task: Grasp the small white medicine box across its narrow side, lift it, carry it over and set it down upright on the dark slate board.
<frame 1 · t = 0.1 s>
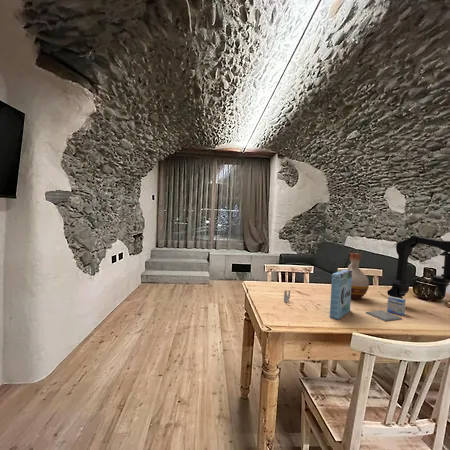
hand: (449, 295, 135), 15 cm above the table, fingers open, 9 cm apart
medicine box: (395, 313, 149), on the table
architectural model: (295, 303, 159), on the table
slate board: (383, 316, 143), on the table
jug: (352, 298, 174), on the table
gum box: (340, 314, 143), on the table
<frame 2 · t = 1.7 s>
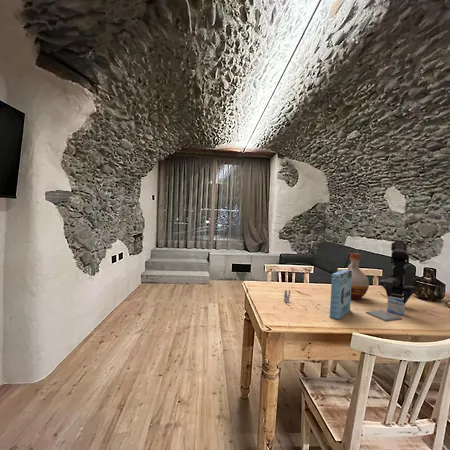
hand: (396, 300, 148), 7 cm above the table, fingers open, 9 cm apart
medicine box: (395, 313, 149), on the table, touching gripper
everything else where it was.
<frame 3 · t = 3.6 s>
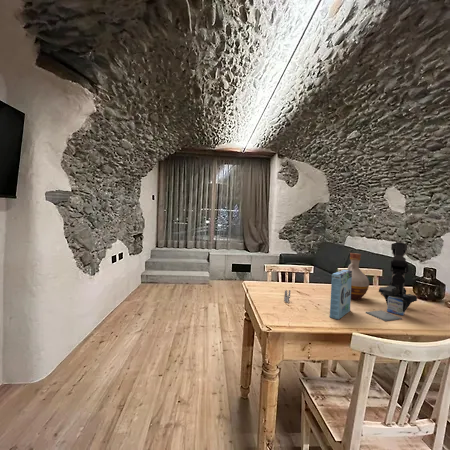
hand: (395, 309, 148), 2 cm above the table, fingers closed on medicine box, 9 cm apart
medicine box: (395, 313, 149), on the table, touching gripper
everything else where it was.
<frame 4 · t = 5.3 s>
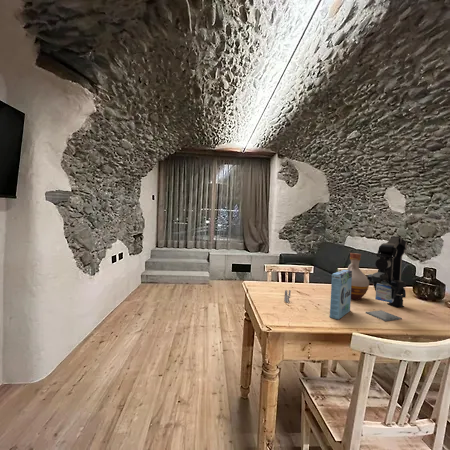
hand: (384, 296, 142), 11 cm above the table, fingers closed on medicine box, 9 cm apart
medicine box: (384, 300, 142), point 8 cm above the table, touching gripper
everything else where it was.
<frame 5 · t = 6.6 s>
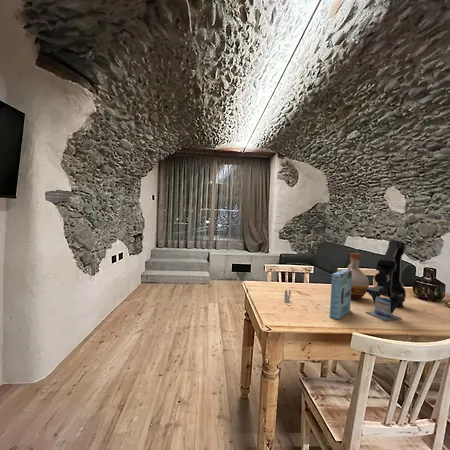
hand: (383, 309, 143), 3 cm above the table, fingers closed on medicine box, 9 cm apart
medicine box: (383, 314, 143), point 1 cm above the table, touching gripper
everything else where it was.
when the fingers open (3 cm above the table, at t = 7.6 s): medicine box stays where it is, resting on slate board.
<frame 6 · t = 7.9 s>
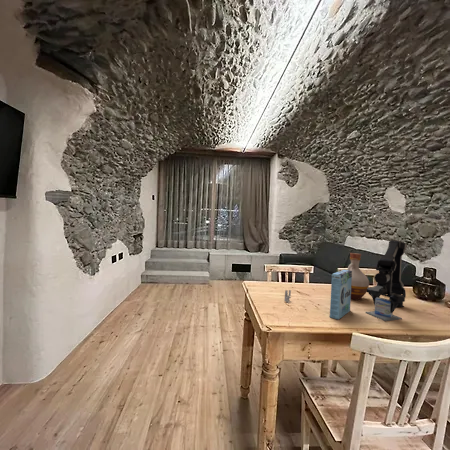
hand: (383, 309, 143), 3 cm above the table, fingers open, 9 cm apart
medicine box: (383, 315, 143), resting on slate board, touching gripper
everything else where it was.
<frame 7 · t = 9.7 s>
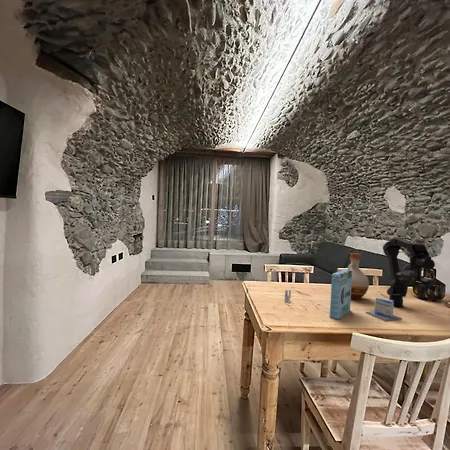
hand: (413, 293, 146), 12 cm above the table, fingers open, 9 cm apart
medicine box: (383, 315, 142), resting on slate board
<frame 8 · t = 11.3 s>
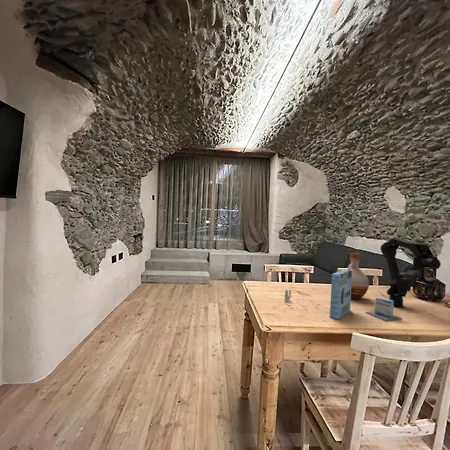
hand: (417, 293, 146), 12 cm above the table, fingers open, 9 cm apart
at the end: medicine box inside the target area on the slate board (0.1 cm from its centre), point 0.5 cm above the slate board's base; medicine box tilted 0°; the gripper is holding nothing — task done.
